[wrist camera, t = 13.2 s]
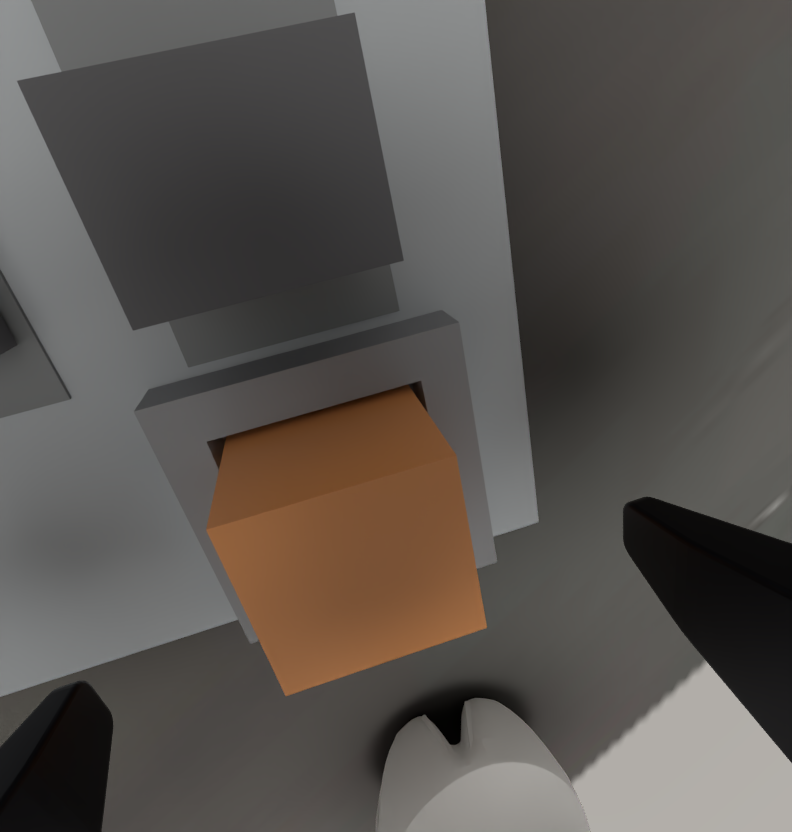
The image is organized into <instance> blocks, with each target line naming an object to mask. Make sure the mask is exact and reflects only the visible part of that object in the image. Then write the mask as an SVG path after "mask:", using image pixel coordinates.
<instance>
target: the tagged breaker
mask: <svg viewBox="0 0 792 832" xmlns="http://www.w3.org/2000/svg"><path fill="white" fill-rule="evenodd" d="M15 346H17V343H16V341H15V339H14V338H13V336H12V334H11V333H10V331H9V329H8V327H7V326H6V324H5V322H4V320H3V319H2V317H1V315H0V355H1V354H3V353H5V352H6V351H8V350H10V349H12V348H13V347H15Z"/></svg>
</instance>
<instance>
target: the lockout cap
mask: <svg viewBox="0 0 792 832" xmlns="http://www.w3.org/2000/svg"><path fill="white" fill-rule="evenodd" d="M206 531H207V533H208V535H209V537H210V539H211V541H212V544H213V546H214V548H215V550H216V552H217V554H218V556H219V558H220V560H221V562H222V564H223V566H224V568H225V571H226V573H227V575H228V577H229V579H230V581H231V583H232V585H233V587H234V589H235V591H236V593H237V596H238V598H239V600H240V602H241V604H242V606H243V608H244V610H245V612H246V614H247V616H248V618H249V621H250V623H251V625H252V627H253V629H254V631H255V633H256V635H257V637H258V639H259V641H260V643H261V646H262V648H263V650H264V652H265V654H266V656H267V658H268V660H269V662H270V664H271V666H272V668H273V671H274V673H275V675H276V677H277V679H278V681H279V683H280V685H281V687H282V689H283V691H284V693H285V696H288V695H291V694H294V693H297V692H300V691H303V690H305V689H308V688H311V687H314V686H317V685H320V684H323V683H326V682H329V681H332V680H335V679H338V678H341V677H344V676H347V675H350V674H353V673H355V672H358V671H361V670H364V669H367V668H370V667H373V666H376V665H379V664H382V663H385V662H388V661H391V660H394V659H397V658H400V657H403V656H405V655H408V654H411V653H414V652H417V651H420V650H423V649H426V648H429V647H432V646H435V645H438V644H441V643H444V642H447V641H450V640H453V639H456V638H458V637H461V636H464V635H467V634H470V633H473V632H476V631H479V630H482V629H485V628H487V625H486V619H485V613H484V608H483V602H482V597H481V591H480V585H479V580H478V574H477V568H476V563H475V557H474V551H473V546H472V540H471V535H470V529H469V523H468V518H467V512H466V506H465V501H464V495H463V489H462V484H461V478H460V472H459V467H458V461H457V456H456V454H455V452H454V451H453V449H452V448H451V446H450V445H449V444H448V442H447V441H446V439H445V438H444V436H443V435H442V433H441V432H440V430H439V429H438V427H437V426H436V424H435V423H434V422H433V420H432V419H431V417H430V416H429V414H428V413H427V411H426V410H425V408H424V407H423V405H422V404H421V403H420V401H419V400H418V398H417V397H416V395H415V394H414V392H413V391H412V389H411V388H410V386H409V385H408V384H407V385H404V386H400V387H397V388H393V389H390V390H386V391H383V392H379V393H376V394H372V395H369V396H365V397H362V398H358V399H355V400H351V401H348V402H344V403H341V404H337V405H334V406H330V407H327V408H323V409H320V410H316V411H313V412H309V413H306V414H302V415H299V416H295V417H292V418H288V419H285V420H281V421H278V422H274V423H271V424H267V425H264V426H260V427H257V428H253V429H250V430H246V431H243V432H239V433H236V434H232V435H229V436H226V440H225V445H224V449H223V454H222V459H221V463H220V468H219V472H218V477H217V482H216V486H215V491H214V495H213V500H212V505H211V509H210V514H209V518H208V523H207V528H206Z"/></svg>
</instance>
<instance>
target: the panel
mask: <svg viewBox="0 0 792 832" xmlns="http://www.w3.org/2000/svg"><path fill="white" fill-rule="evenodd" d="M0 315H1V317H2V319H3V320H4V322H5V324H6V326H7V327H8V329H9V331H10V333H11V334H12V336H13V338H14V339H15V341H16V343H17V346H15V347H13V348H12V349H10V350H8V351H6V352H5V353H3V354H1V355H0V697H1V696H4V695H7V694H10V693H13V692H17V691H20V690H23V689H26V688H29V687H32V686H35V685H38V684H41V683H44V682H47V681H50V680H54V679H57V678H60V677H63V676H66V675H69V674H72V673H75V672H78V671H81V670H84V669H87V668H91V667H94V666H97V665H100V664H103V663H106V662H109V661H112V660H115V659H118V658H121V657H124V656H128V655H131V654H134V653H137V652H140V651H143V650H146V649H149V648H152V647H155V646H158V645H161V644H165V643H168V642H171V641H174V640H177V639H180V638H183V637H186V636H189V635H192V634H195V633H198V632H201V631H205V630H208V629H211V628H214V627H217V626H220V625H223V624H226V623H229V622H232V621H235V620H238V621H239V623H240V624H241V626H242V628H243V630H244V632H245V634H246V636H247V638H248V640H249V642H250V644H251V643H254V642H257V641H259V639H258V637H257V635H256V633H255V631H254V629H253V627H252V625H251V623H250V621H249V618H248V616H247V614H246V612H245V610H244V608H243V606H242V604H241V602H240V600H239V598H238V596H237V593H236V591H235V589H234V587H233V585H232V583H231V581H230V579H229V577H228V575H227V573H226V571H225V568H224V566H223V564H222V562H221V560H220V558H219V556H218V554H217V552H216V550H215V548H214V546H213V544H212V541H211V539H210V537H209V535H208V533H207V531H206V528H207V523H208V518H209V514H210V509H211V505H212V500H213V495H214V491H215V486H216V482H217V477H218V472H219V468H220V463H221V459H222V454H223V449H224V445H225V440H226V436H229V435H232V434H236V433H239V432H243V431H246V430H250V429H253V428H257V427H260V426H264V425H267V424H271V423H274V422H278V421H281V420H285V419H288V418H292V417H295V416H299V415H302V414H306V413H309V412H313V411H316V410H320V409H323V408H327V407H330V406H334V405H337V404H341V403H344V402H348V401H351V400H355V399H358V398H362V397H365V396H369V395H372V394H376V393H379V392H383V391H386V390H390V389H393V388H397V387H400V386H404V385H407V384H408V385H409V386H410V388H411V389H412V391H413V392H414V394H415V395H416V397H417V398H418V400H419V401H420V403H421V404H422V405H423V407H424V408H425V410H426V411H427V413H428V414H429V416H430V417H431V419H432V420H433V422H434V423H435V424H436V426H437V427H438V429H439V430H440V432H441V433H442V435H443V436H444V438H445V439H446V441H447V442H448V444H449V445H450V446H451V448H452V449H453V451H454V452H455V454H456V456H457V461H458V467H459V472H460V478H461V484H462V489H463V495H464V501H465V506H466V512H467V518H468V523H469V529H470V535H471V540H472V546H473V551H474V557H475V563H476V568H477V569H478V568H481V567H484V566H487V565H490V564H493V563H496V562H497V558H496V551H495V545H494V539H493V537H494V536H497V535H501V534H504V533H507V532H510V531H513V530H516V529H519V528H522V527H525V526H528V525H531V524H534V523H538V522H539V520H538V510H537V500H536V491H535V481H534V471H533V462H532V452H531V442H530V433H529V423H528V413H527V404H526V394H525V384H524V375H523V365H522V355H521V346H520V336H519V326H518V317H517V307H516V298H515V288H514V278H513V269H512V259H511V249H510V240H509V230H508V220H507V211H506V201H505V191H504V182H503V172H502V162H501V153H500V143H499V133H498V124H497V114H496V104H495V95H494V85H493V75H492V66H491V56H490V46H489V37H488V27H487V17H486V8H485V0H0Z"/></svg>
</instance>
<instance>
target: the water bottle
mask: <svg viewBox="0 0 792 832" xmlns="http://www.w3.org/2000/svg"><path fill="white" fill-rule="evenodd" d="M375 832H591V831H590V828H589V825H588V821H587V818H586V815H585V812H584V809H583V807H582V804H581V803H580V800H579V798H578V796H577V794H576V792H575V790H574V788H573V786H572V784H571V782H570V780H569V778H568V776H567V775H566V773H565V772H564V770H563V769H562V767H561V766H560V765H559V763H558V762H557V760H556V759H555V758H554V756H553V755H552V754H551V752H550V751H549V750H548V748H547V747H546V746H545V744H544V743H543V742H542V741H541V740H540V738H539V737H538V736H537V735H536V734H535V732H534V731H533V730H532V729H531V728H530V727H529V726H528V725H527V724H526V723H525V722H524V721H523V720H522V719H521V718H520V717H519V716H517V715H516V714H515V713H514V712H512V711H511V710H510V709H508V708H507V707H505V706H504V705H502V704H501V703H499V702H497V701H495V700H491V699H486V698H473V699H470V700H468V701H464V706H463V710H462V716H461V741H460V743H458V744H456V745H450V744H449V743H448V741H447V740H446V739H445V737H444V736H443V734H442V733H441V732H440V730H439V729H438V728H437V727H436V726H435V724H434V723H433V722H431V721H430V720H429V719H428V718H427V716H426V715H425V714H424V715H423V716H419V717H416V718H414V719H412V720H411V721H409V722H408V723H407V724H406V725H405V726H404V727H403V728H402V729H401V730H400V731H399V732H398V733H397V734H396V737H395V739H394V741H393V744H392V746H391V748H390V750H389V753H388V757H387V760H386V763H385V768H384V772H383V777H382V784H381V789H380V794H379V799H378V807H377V815H376V828H375Z"/></svg>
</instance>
